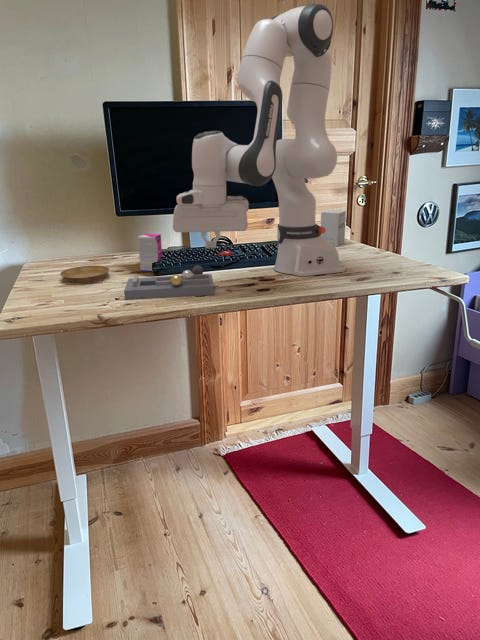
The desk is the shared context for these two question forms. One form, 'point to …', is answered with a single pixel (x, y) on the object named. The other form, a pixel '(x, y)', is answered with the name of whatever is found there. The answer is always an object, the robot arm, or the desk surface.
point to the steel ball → (187, 275)
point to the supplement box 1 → (149, 250)
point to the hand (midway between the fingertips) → (210, 247)
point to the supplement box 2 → (334, 226)
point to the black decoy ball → (197, 270)
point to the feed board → (168, 287)
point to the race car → (225, 253)
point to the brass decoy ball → (176, 280)
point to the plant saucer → (85, 274)
